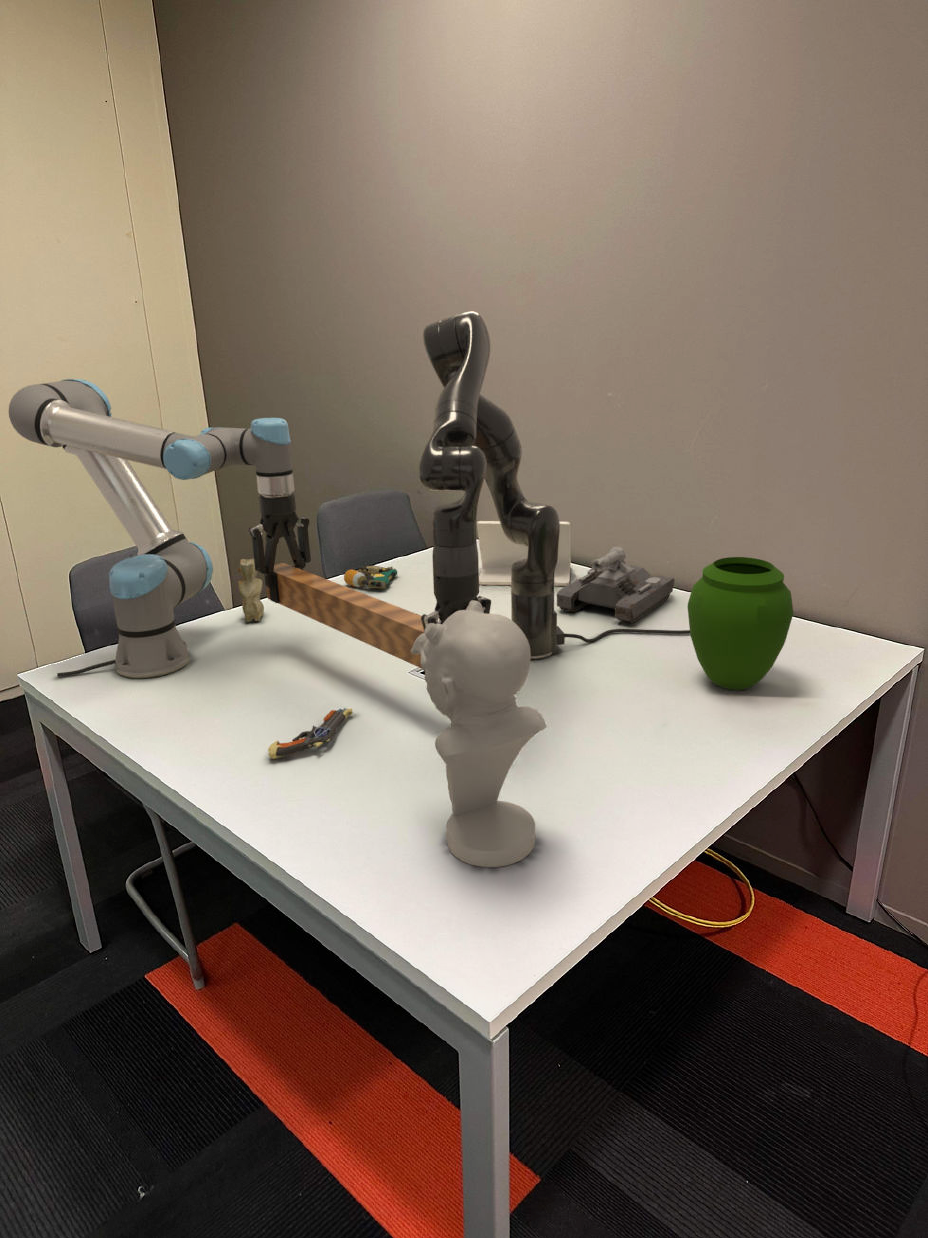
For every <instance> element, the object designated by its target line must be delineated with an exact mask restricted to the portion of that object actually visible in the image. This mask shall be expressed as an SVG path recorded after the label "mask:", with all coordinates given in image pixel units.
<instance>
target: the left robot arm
mask: <svg viewBox="0 0 928 1238" xmlns="http://www.w3.org/2000/svg"><path fill="white" fill-rule="evenodd" d="M111 410H112V405H111V402H110V400H109V398H108V396H107V395H106V393H105V392H104V391H103V390H102V389H101V388H100V387H99V386H98V385H96V384H95V383H93V382H91V381H89V380H85V379H78V378H77V379H74V378H66V379H61V380H58V381H52V382H45V383H36V384H34V383H33V384H29V385H26V386H23V387H22V388H20V389H18V391H17V392H16V393H15V394H13V396H12V398H11V399H10V402H9V405H8V418H9V422H10V424H11V425H12V427H13V429H14V430H15V431H16V433H17V434H19V435H20V436H21V437H22V438H24V439H26V440H27V441H29V442H32V443H35V444H40V445H43V446H47V447H52V448H62V449H63V451H64V452H65V453H67V454H71V455H75V456H76V457H77V459H78V460H79V461H80V463H81V464H82V466H83V468H84V469H85V471H86V472H87V473H88V475H89V477H90V478H91V479H92V481H93V483H94V484H95V486H96V487H97V489H98V490H99V491H100V493H101V495H102V496H103V498H104V499H105V501H106V502H107V504H108V505H109V507H110V508H111V510H112V511H113V513H114V515H115V516H116V517H117V519H118V521H119V522H120V523H121V525H122V526H123V528H124V529H125V531H126V533H127V534H128V536H129V537H130V539H131V540H132V542H133V543H134V545H135V546H136V547H137V551H138V552H137V555H134V556H133V557H127V558H124V559H122V560H120V561H118V562H117V563H115V564H114V565H113V566H112V567H111V569H110V570H109V573H108V578H109V586H108V587H109V592H110V595H111V600H112V604H113V610H114V616H115V619H116V620H115V621H116V625H117V631H118V643H117V648H116V653H115V659H112V660H108V661H107V660H106V661H104V662H101V663H97V664H93V665H90V666H86V667H84V668H81V669H76V670H70V671H62V672H57V673H56V676H57V678H62V677H69V676H74V675H75V676H76V675H81V674H84V673H87V672H90V671H93V670H96V669H100V668H104V667H107V666H108V667H109V666H111V665H114V666H115V670H116V673H117V674H118V675H120V676H122V677H125V678H129V679H149V678H157V677H161V676H165V675H169V674H172V673H175V672H177V671H179V670H181V669H182V668H184V667H185V666H187V665H188V664H189V662H190V653H189V649H188V646H187V643H186V642H185V641H184V640H183V638H182V636H181V634H180V632H179V630H178V629H177V625H176V620H175V619H176V618H175V613H174V608H175V607H178V606H179V605H180V604H182V603H184V602H186V601H187V600H189V599H191V598H194V597H196V596H197V595H199V594H200V593H202V591H203V590H206V588H207V587H208V586H209V585H210V584H211V581H212V578H213V573H214V565H213V561H212V558H211V556H210V554H209V553H208V551H207V550H206V549H205V548H204V546H203V545H201V544H197V543H196V542H193V541H189V540H188V539H187V537H186V535H185V534H184V533H183V532H182V531H179V530H175V529H173V528H172V527H171V525H170V524H169V522H168V520H167V519H166V518H165V515H164V514H163V512H162V511H161V510H160V508H159V507H158V505H157V503H156V502H155V500H154V498H153V497H152V496H151V494H150V493H149V491H148V490H147V488H146V486H145V484H143V482H142V481H141V480H142V479H140V477H139V476H138V474H137V472H136V471H135V470H134V468H133V467H132V465H131V463H130V461H131V462H134V463H138V464H139V463H140V464H143V465H147V466H152V467H155V468H160V469H164V470H166V471H167V472H168V473H169V474H170V475H171V476H173V477H174V478H175V479H177V480H181V481H188V480H194V479H195V480H196V479H199V478H201V477H203V476H204V475H207V474H211V473H213V472H215V471H219V470H221V469H224V468H227V467H229V466H233V465H237V466H239V465H240V466H254V469H255V474H256V475H255V476H256V485H257V493H258V494H259V496H258V506H259V513H260V520H259V524H257V525H256V526H250V527H248V532H249V535H250V537H251V541H252V551H253V552H252V553H253V558H254V564H255V570H256V571H257V572H259V573H260V574H262V575H264V584H265V588H266V587H267V588H269V591H270V599H269V600H270V602H273V603H275V604H278V603H280V600H279V589H278V579H277V574H276V573H274V565H276V564H275V563H276V556H277V547H278V544H279V542H280V539H281V538H283V539H284V540H285V543H286V546H287V549H288V552H289V554H290V557H291V561H292V563H293V565H292V566H293V567H296V568H299V569H301V570H304V569H305V568H306V566H307V563H308V564H309V563H311V561H312V558H311V547H310V538H309V526H310V519H309V518H307V517H304V516H298V514H297V512H296V510H297V502H296V495H295V494H294V492H295V490H296V489H295V480H294V479H295V478H294V472H293V471H294V470H293V463H292V448H291V443H292V439H291V436H290V430H289V424H288V422H287V420H286V419H284V418H281V417H261V418H256V419H254V420H252V421H251V423H250V428H247V427H246V428H244V427H243V428H240V427H222V426H216V427H206V428H203V429H202V430H201V431H200V433H199V434H198V435H189V434H184V433H180V432H175V431H173V430H168V429H164V428H159V427H155V426H151V425H147V424H144V423H143V424H142V423H138V422H134V421H129V420H126V419H121V418H117V417H113V416H112V412H111ZM296 526H297V529H296V532H297V536H296V533H295V530H294V529H295V527H296ZM263 531H264V532H265V541H266V542H265V548H264V538H263V536H264V532H263ZM296 538H297V539H298V540H297V539H296Z"/></svg>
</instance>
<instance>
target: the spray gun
mask: <svg viewBox="0 0 928 1238" xmlns="http://www.w3.org/2000/svg"><path fill="white" fill-rule="evenodd" d="M397 575H398V570H397V569H396V568H393V566H388V567H385V566H384V567H383V566H379V565H366V566H364V565H363V566H358V567H357V570H355V569H350V568H349V569H348V570H346V571H345V573H344V575H343V581H344V582H345V584H347V585H348V586H351V587H355V588H362V587H364V586H366V587H368V588H369V589H386V588H387V586H388V585H389V583H390V581H391V580H392V579H393V578H395V577H397Z"/></svg>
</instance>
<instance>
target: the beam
mask: <svg viewBox="0 0 928 1238" xmlns="http://www.w3.org/2000/svg"><path fill="white" fill-rule="evenodd" d="M293 566H294V565H291V564H288V563H287V562H286V563H285V562H281V563H277V564H274V573H276V574H277V579H278V589H279V600H280V603H277V604H278V605H280V606H283V607H285V608H288V609H289V610H292V611H294V612H295V613H298V614H301V615H303V616H305V617H307V618H310V619H311V620H313V621H316V622H317V623H320V624H323V625H325V626H327V627H329V628H331V629H333V630H336V631H338V632H340V633H342V634H344V635H346V636H349V637H351V638H353V639H356V640H358V641H360V642H362V643H365V644H367V645H369V646H371V647H373V648H375V649H378V650H380V651H382V652H384V653H386V654H388V655H391V656H393V657H394V658H397V659H399V660H401V661H404V662H406V663H407V664H408V663H409V664H410V665H413V666H415V667H417V668H420V669H422V667H421V654H412V653H411V649H412V647H413V645H414V642H415V640H416V639H417V637H418V636H419V635H421V634H423V633H425V632H424V628H423V625H422V621H421V616H422V614H421V615H420V614H418V613H415V612H413V611H410V610H408V609H405V608H402V607H400V606H397V605H395V604H392V603H389V602H387V601H385V600H381V599H379V598H377V597H374V596H372V595H368V594H366V593H363V592H361V591H358V590H356V589H353V588H350V587H347V586H345V585H343V584H340V583H337V582H335V581H333V580H330V579H327V578H324V577H321V576H320V575H317V574H314V573H312V572H309V571H307V570H304V569H303V570H301V569H299V568H296V567H293ZM265 589H266V598H267V600H270V591H269V588H267V587H266V586H265ZM438 623H439V621H438ZM422 670H423V669H422Z"/></svg>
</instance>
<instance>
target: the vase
mask: <svg viewBox="0 0 928 1238" xmlns="http://www.w3.org/2000/svg"><path fill="white" fill-rule="evenodd" d="M784 580H785V574H784V573H783V572H782V571H781V570H780V569H779V568H777V567H776V566H775V565H774V564H773V563H771V562H770V561H767V560H764V559H761V558H754V557H746V556H730V557H723V558H722V557H721V558H718V559H716V560H715V561H713V562H712V563H710V564H708V565H706V566H705V567H704V568H703V569H702V576H701V577H700V578H699V579H698V580H697V581H696V582H695V583H694V584H693V585H692V588H691V591H690V595H689V598H688V601H687V613H688V614H687V615H688V625H689V630H690V634H689V635H690V636H689V637H690V640H691V642H692V645H693V648H694V651H695V656H696V659H697V661H698V663H699V665H700V666H701V668H702V670H703V672H704V674H705V675H706V676H707V677H708V678H709V680H710V681H711V682H712V683H713V684H714V685H716V686H718V687H720V688H723V689H726V690H731V691H740V690H747V689H750V688H752V687H754V686H755V685H757V684H758V683H759V682H760V681H761V680H763V679H764V677H765V676H766V675H767V674H768V673H769V672H770V670H771V669H772V668H773V666H774V665H775V663H776V661H777V659H778V657H779V655H780V653H781V651H782V650H783V648H784V646H785V643H786V640H787V637H788V634H789V631H790V630H789V629H790V627H791V623H792V620H793V617H794V607H793V606H794V605H793V599H792V592H791V590H790V589H789V588H788V586H787V585H786V584H785V583H784Z"/></svg>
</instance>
